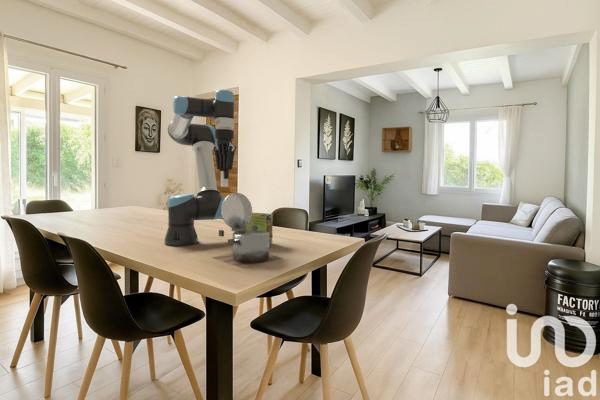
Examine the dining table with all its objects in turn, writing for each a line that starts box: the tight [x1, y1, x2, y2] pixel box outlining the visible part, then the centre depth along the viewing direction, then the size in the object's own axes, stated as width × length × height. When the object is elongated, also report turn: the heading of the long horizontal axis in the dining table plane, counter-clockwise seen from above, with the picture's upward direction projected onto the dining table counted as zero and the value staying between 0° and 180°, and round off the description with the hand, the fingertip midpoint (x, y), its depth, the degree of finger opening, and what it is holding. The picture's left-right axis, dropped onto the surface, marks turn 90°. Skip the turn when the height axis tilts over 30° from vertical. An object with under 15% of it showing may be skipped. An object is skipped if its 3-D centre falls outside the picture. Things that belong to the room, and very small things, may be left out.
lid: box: [221, 192, 253, 232], centre depth 134 cm, size 15×14×4 cm
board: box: [211, 252, 284, 269], centre depth 130 cm, size 20×20×1 cm
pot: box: [218, 226, 273, 264], centre depth 129 cm, size 16×19×11 cm
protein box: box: [233, 212, 274, 246], centre depth 153 cm, size 10×15×16 cm
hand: (224, 186), depth 138 cm, fingers closed
